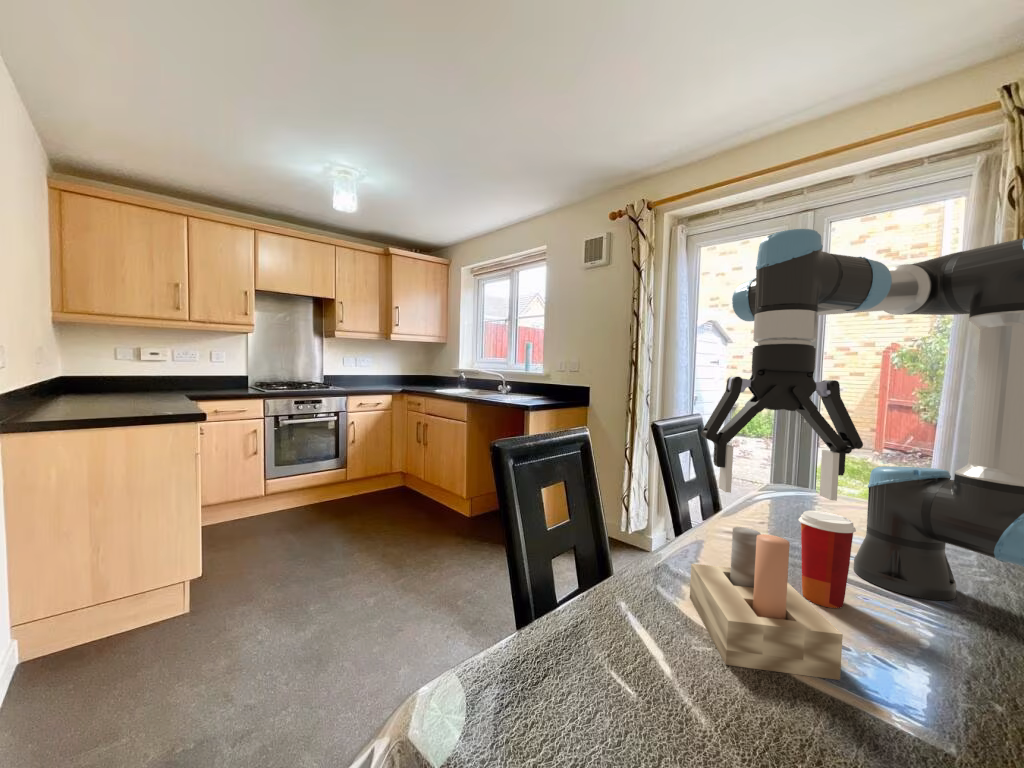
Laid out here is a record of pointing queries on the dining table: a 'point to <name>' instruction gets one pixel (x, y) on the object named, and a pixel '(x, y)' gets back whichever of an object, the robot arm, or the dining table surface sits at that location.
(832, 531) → the coffee cup
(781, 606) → the dowel
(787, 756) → the dining table surface
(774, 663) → the bore block
